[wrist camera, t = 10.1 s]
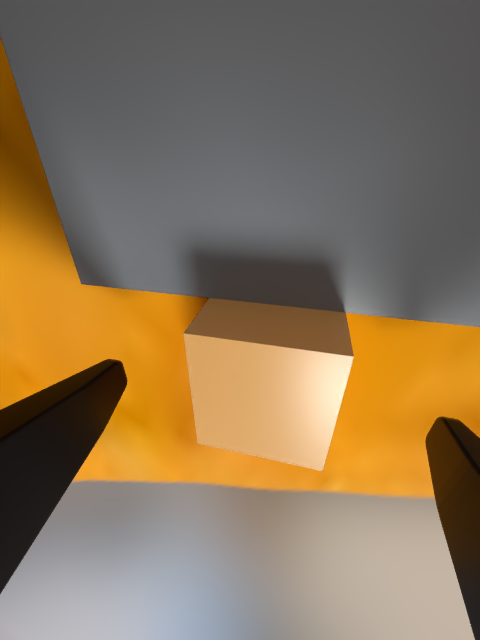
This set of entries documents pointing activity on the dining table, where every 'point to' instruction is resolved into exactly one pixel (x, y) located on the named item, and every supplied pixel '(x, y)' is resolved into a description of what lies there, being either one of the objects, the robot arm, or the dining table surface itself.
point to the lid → (263, 181)
